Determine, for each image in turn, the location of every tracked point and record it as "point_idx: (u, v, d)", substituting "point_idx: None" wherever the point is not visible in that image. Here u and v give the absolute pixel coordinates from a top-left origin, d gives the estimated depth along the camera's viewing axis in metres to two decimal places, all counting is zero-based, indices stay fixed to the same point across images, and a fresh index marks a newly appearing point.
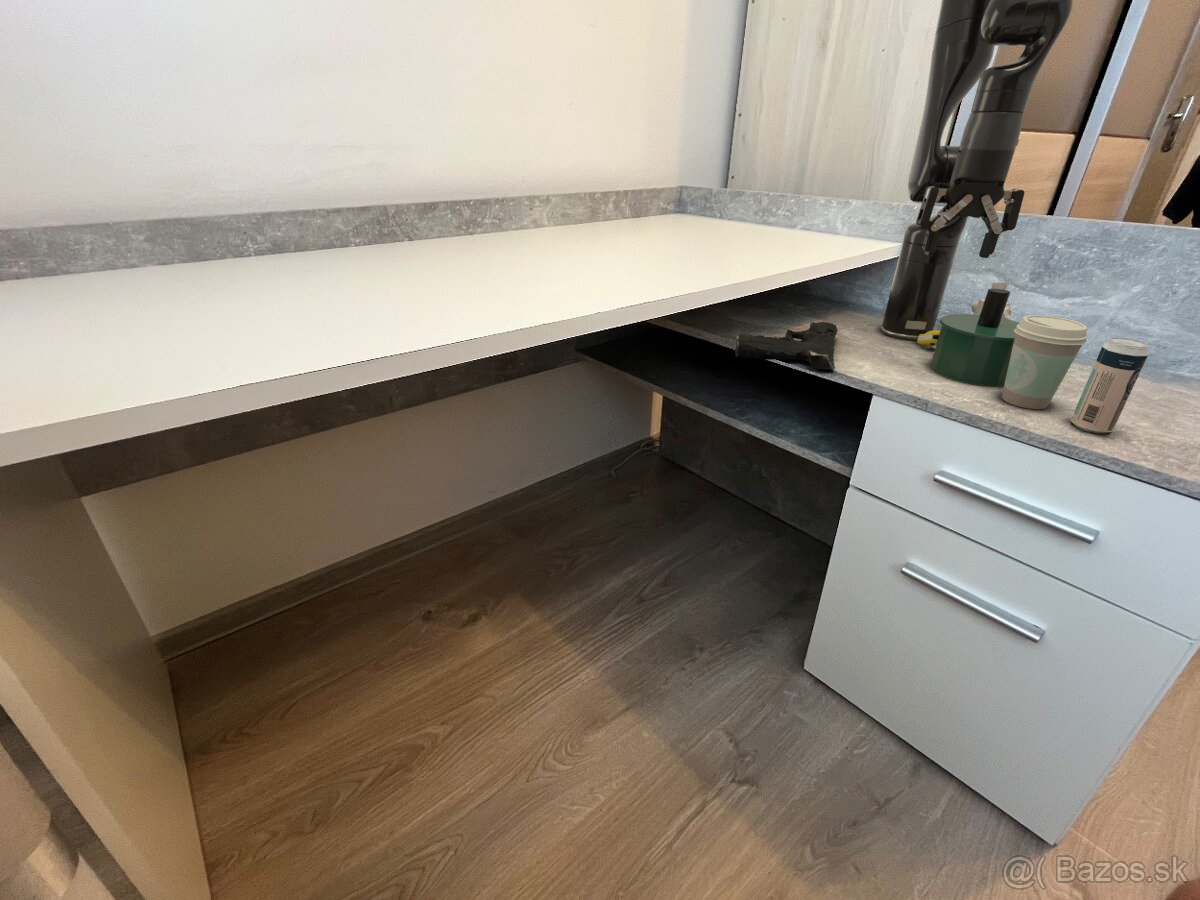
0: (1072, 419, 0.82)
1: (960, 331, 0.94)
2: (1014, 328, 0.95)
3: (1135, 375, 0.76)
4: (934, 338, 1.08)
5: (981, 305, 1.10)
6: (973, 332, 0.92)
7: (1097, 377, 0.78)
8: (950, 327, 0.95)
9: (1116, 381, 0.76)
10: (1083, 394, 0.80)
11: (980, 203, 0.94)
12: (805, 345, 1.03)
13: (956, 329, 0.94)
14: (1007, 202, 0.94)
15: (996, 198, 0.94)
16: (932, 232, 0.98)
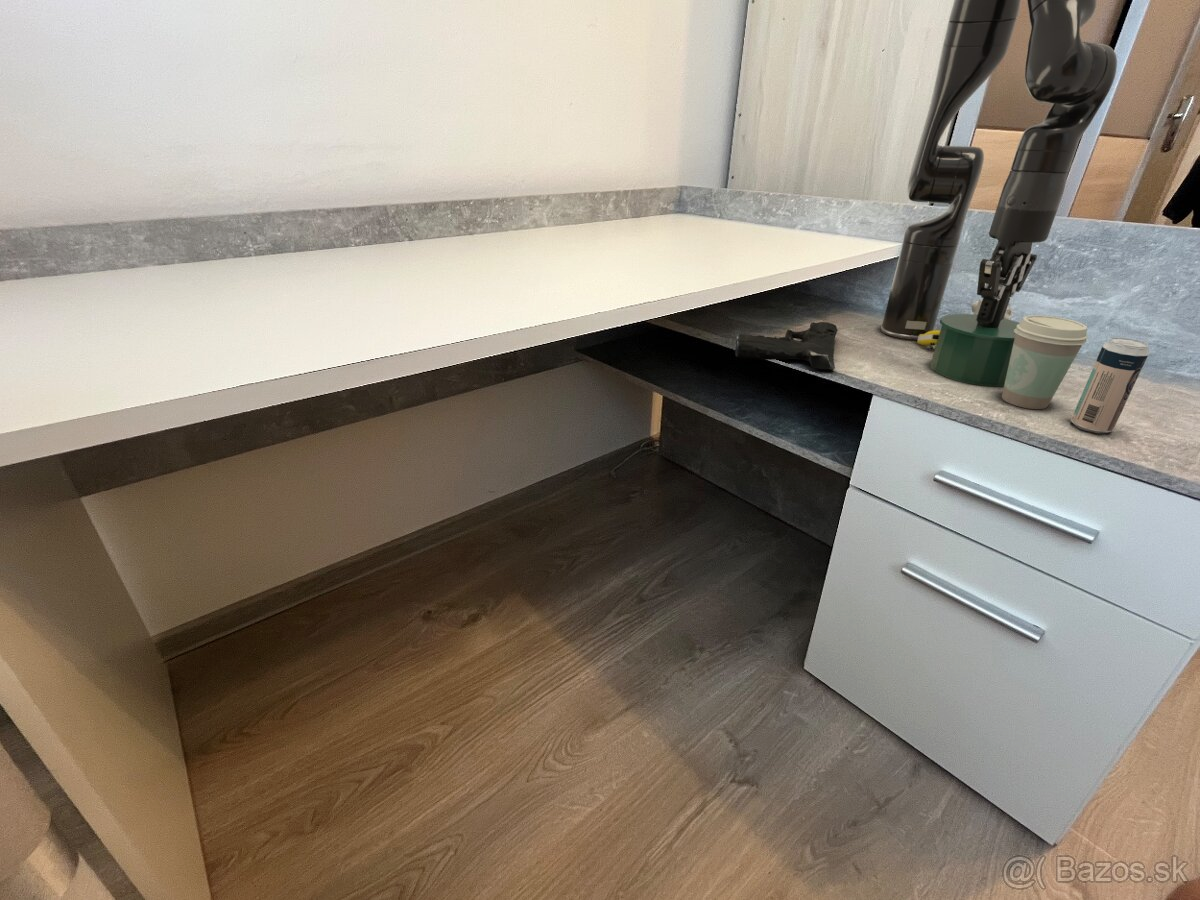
0: (1072, 419, 0.82)
1: (959, 331, 0.94)
2: (1014, 328, 0.95)
3: (1135, 375, 0.76)
4: (934, 338, 1.08)
5: None
6: (973, 332, 0.92)
7: (1097, 377, 0.78)
8: (950, 327, 0.95)
9: (1116, 381, 0.76)
10: (1083, 394, 0.80)
11: None
12: (805, 345, 1.03)
13: (956, 329, 0.94)
14: None
15: None
16: None
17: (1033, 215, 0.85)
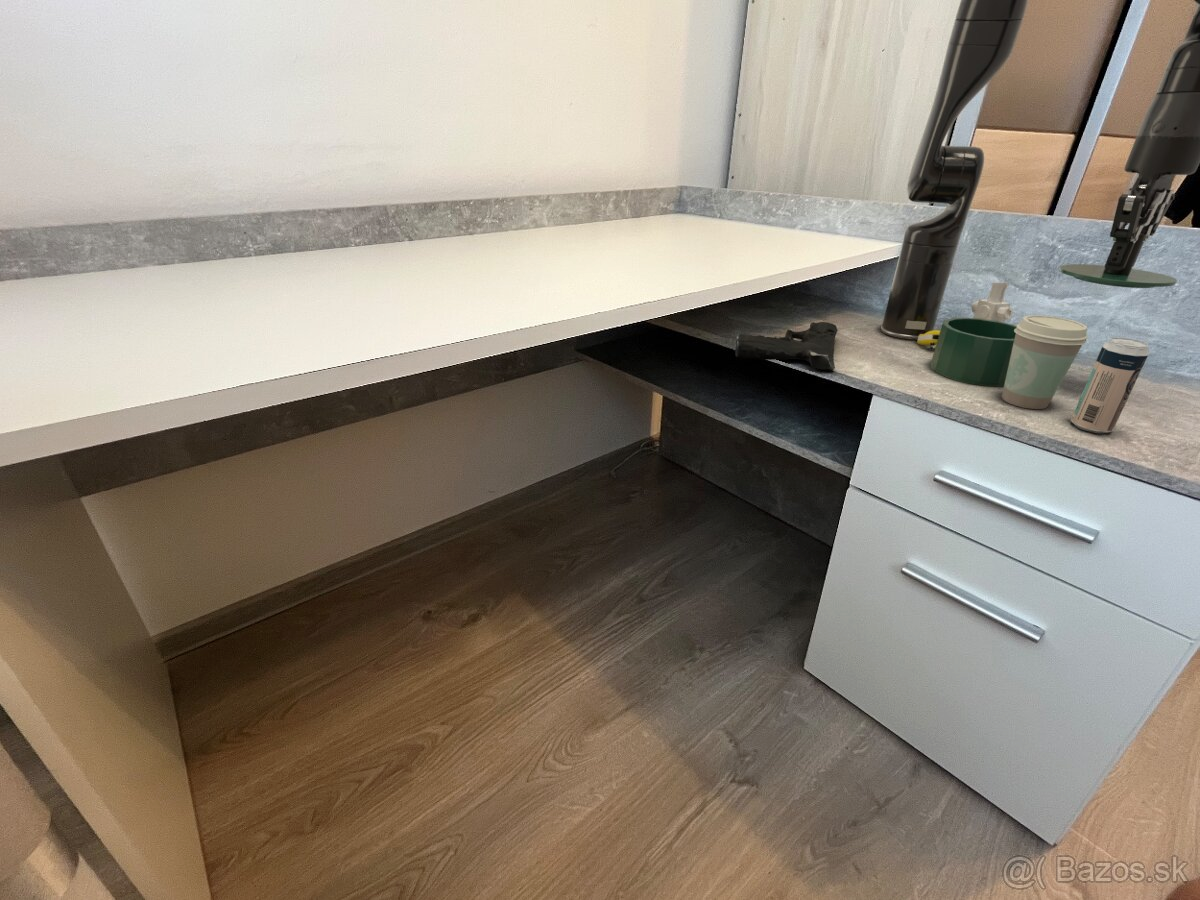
0: (1072, 419, 0.82)
1: (1088, 278, 0.85)
2: (1147, 275, 0.86)
3: (1135, 375, 0.76)
4: (934, 338, 1.08)
5: (981, 305, 1.10)
6: (1105, 278, 0.83)
7: (1097, 377, 0.78)
8: (1076, 274, 0.86)
9: (1116, 381, 0.76)
10: (1083, 394, 0.80)
11: None
12: (805, 345, 1.03)
13: (1084, 276, 0.85)
14: None
15: None
16: None
17: (1185, 142, 0.76)
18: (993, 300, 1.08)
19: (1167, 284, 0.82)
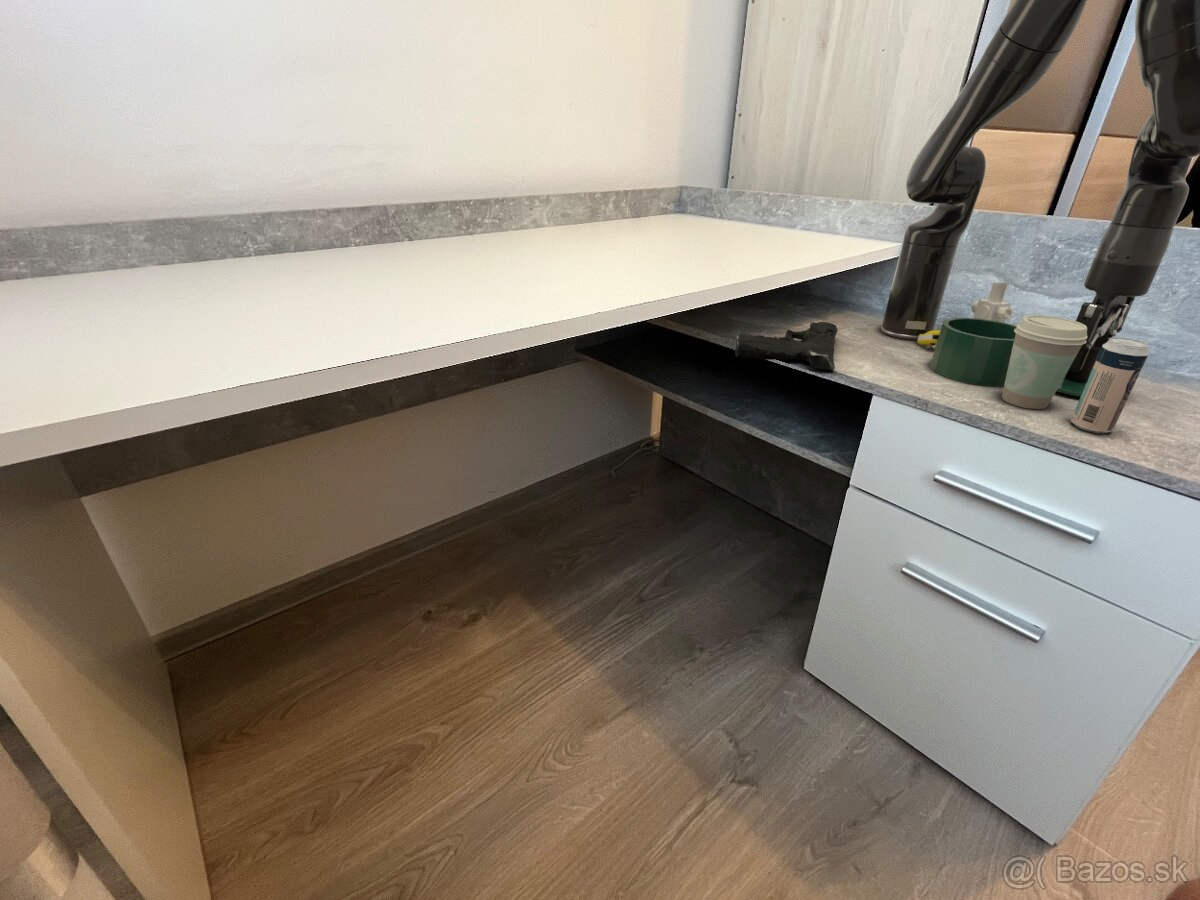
0: (1072, 419, 0.82)
1: None
2: None
3: (1135, 375, 0.76)
4: (934, 338, 1.08)
5: (981, 305, 1.10)
6: (1064, 389, 0.91)
7: (1097, 377, 0.78)
8: None
9: (1116, 381, 0.76)
10: (1083, 394, 0.80)
11: None
12: (805, 345, 1.03)
13: None
14: None
15: None
16: None
17: (1136, 270, 0.84)
18: (993, 300, 1.08)
19: None
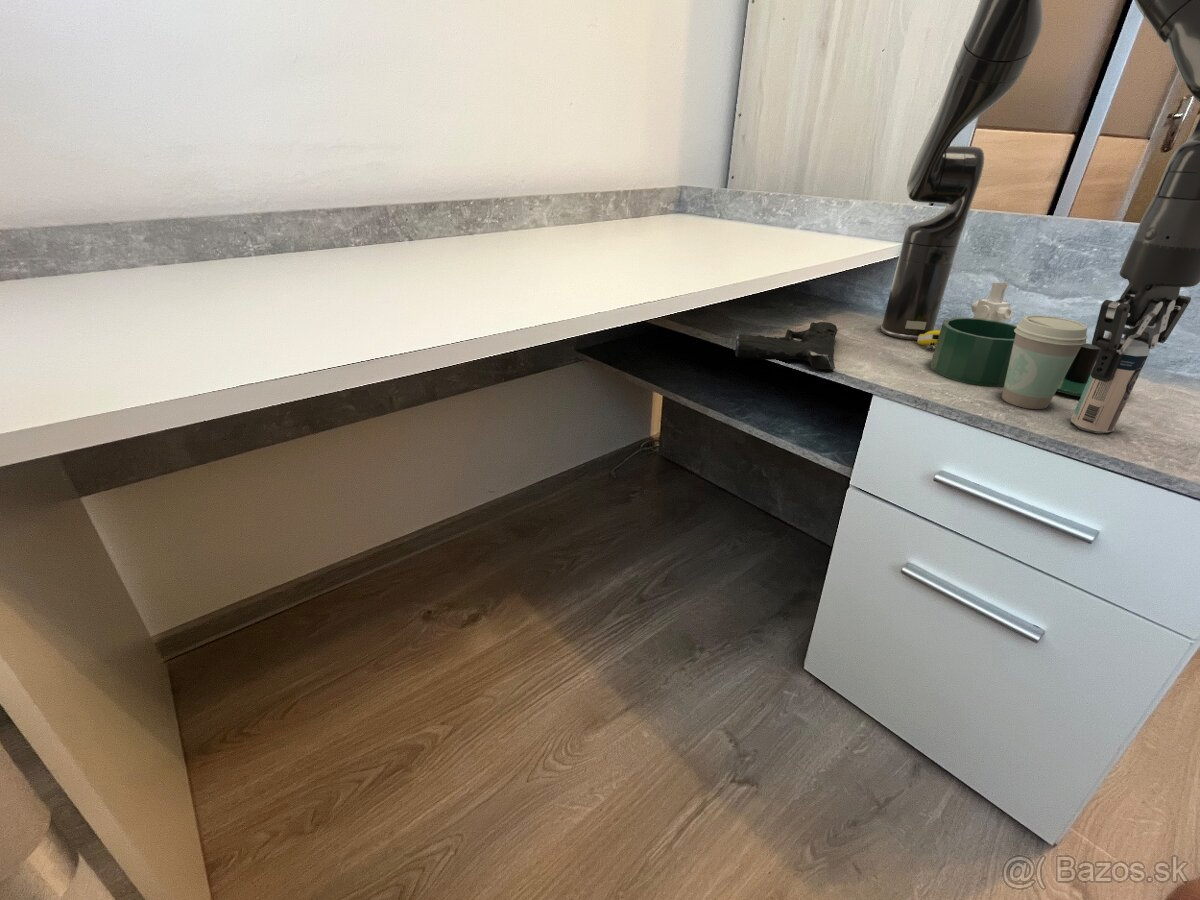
0: (1072, 419, 0.82)
1: None
2: None
3: (1135, 375, 0.76)
4: (934, 338, 1.08)
5: (981, 305, 1.10)
6: (1064, 389, 0.91)
7: None
8: None
9: (1116, 381, 0.76)
10: (1083, 394, 0.80)
11: None
12: (805, 345, 1.03)
13: None
14: None
15: None
16: None
17: (1179, 253, 0.68)
18: (993, 300, 1.08)
19: None
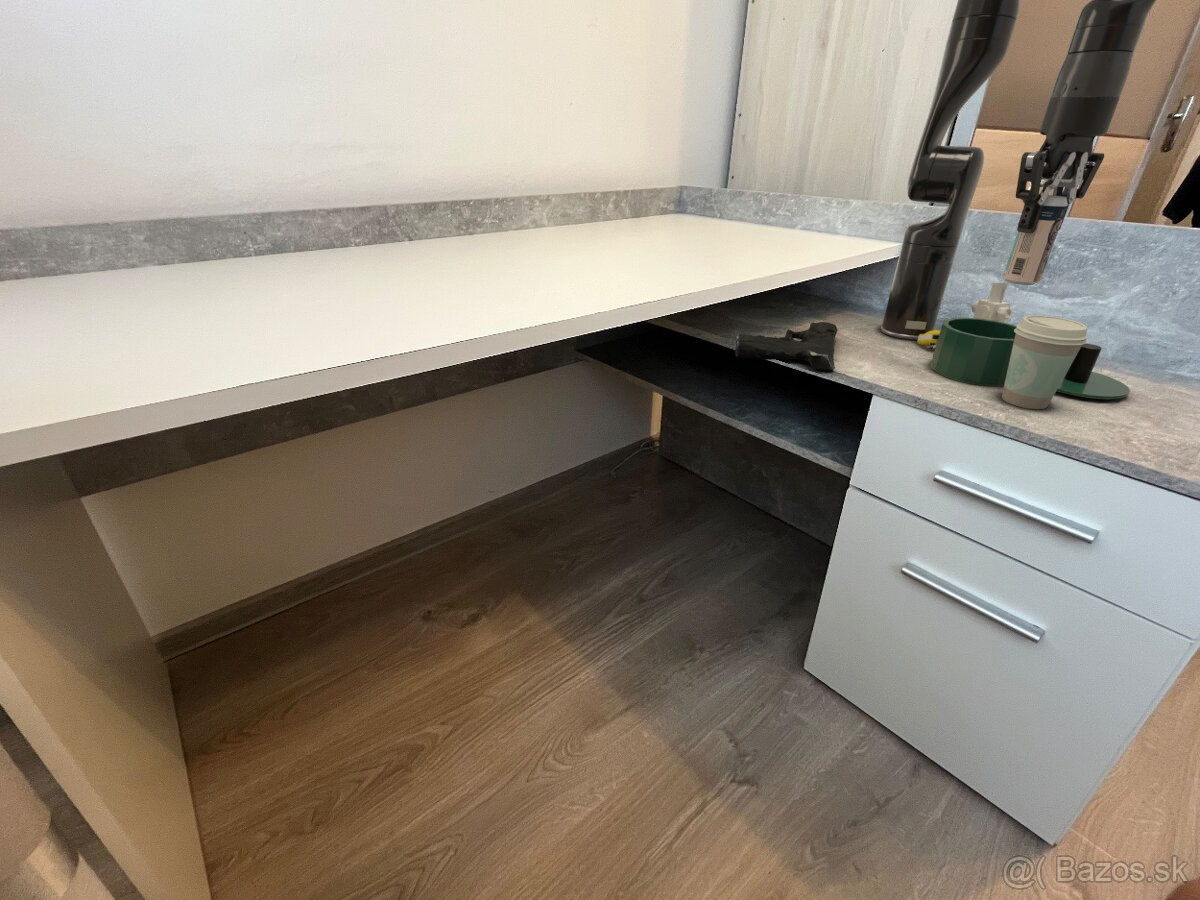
0: (1004, 276, 0.91)
1: None
2: (1104, 383, 0.93)
3: (1055, 225, 0.84)
4: (934, 338, 1.08)
5: (981, 305, 1.10)
6: (1064, 389, 0.91)
7: None
8: None
9: (1039, 232, 0.85)
10: (1012, 250, 0.89)
11: None
12: (805, 345, 1.03)
13: None
14: None
15: None
16: None
17: (1085, 102, 0.76)
18: (993, 300, 1.08)
19: (1120, 396, 0.89)
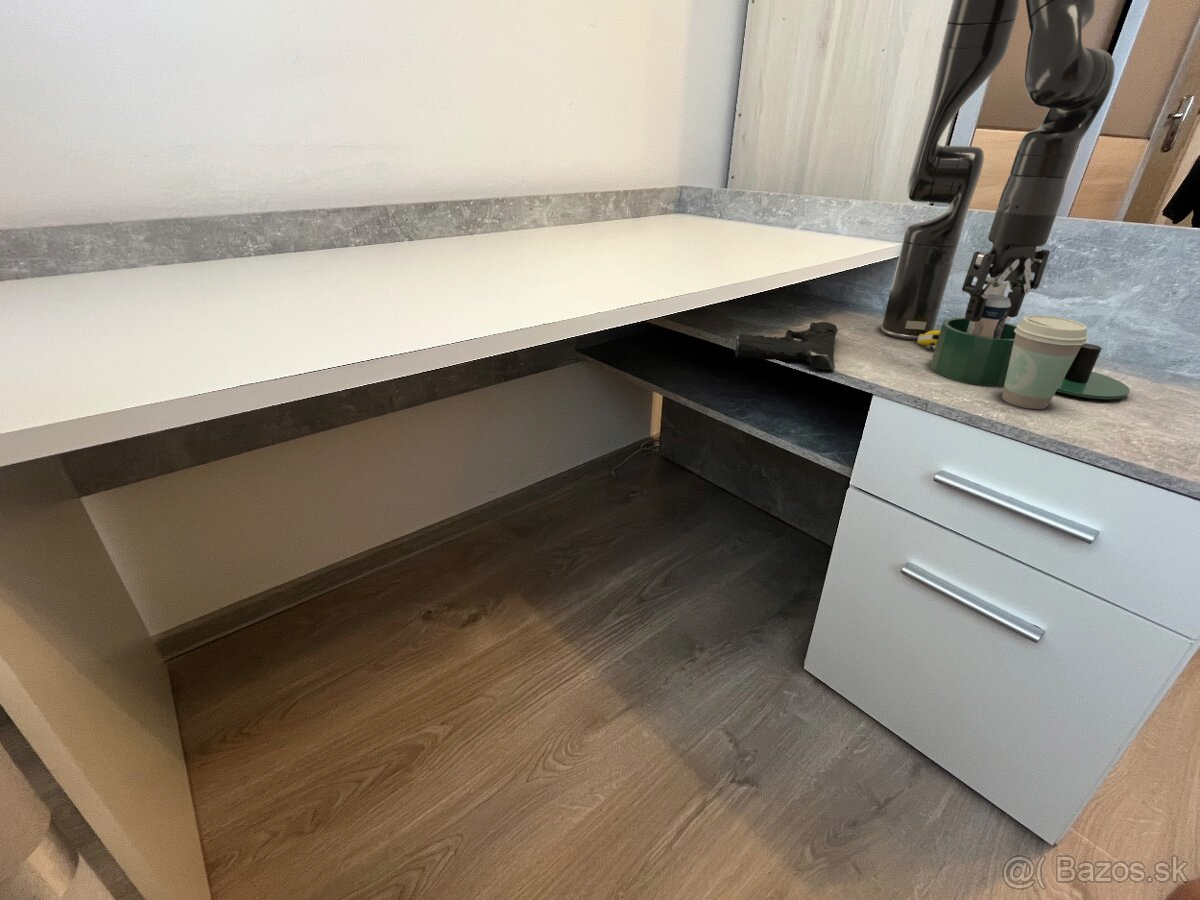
0: None
1: None
2: (1104, 383, 0.93)
3: (1000, 323, 0.94)
4: (934, 338, 1.08)
5: None
6: (1064, 389, 0.91)
7: (972, 326, 0.96)
8: None
9: (986, 329, 0.94)
10: None
11: None
12: (805, 345, 1.03)
13: None
14: None
15: None
16: None
17: (1025, 219, 0.86)
18: None
19: (1120, 396, 0.89)
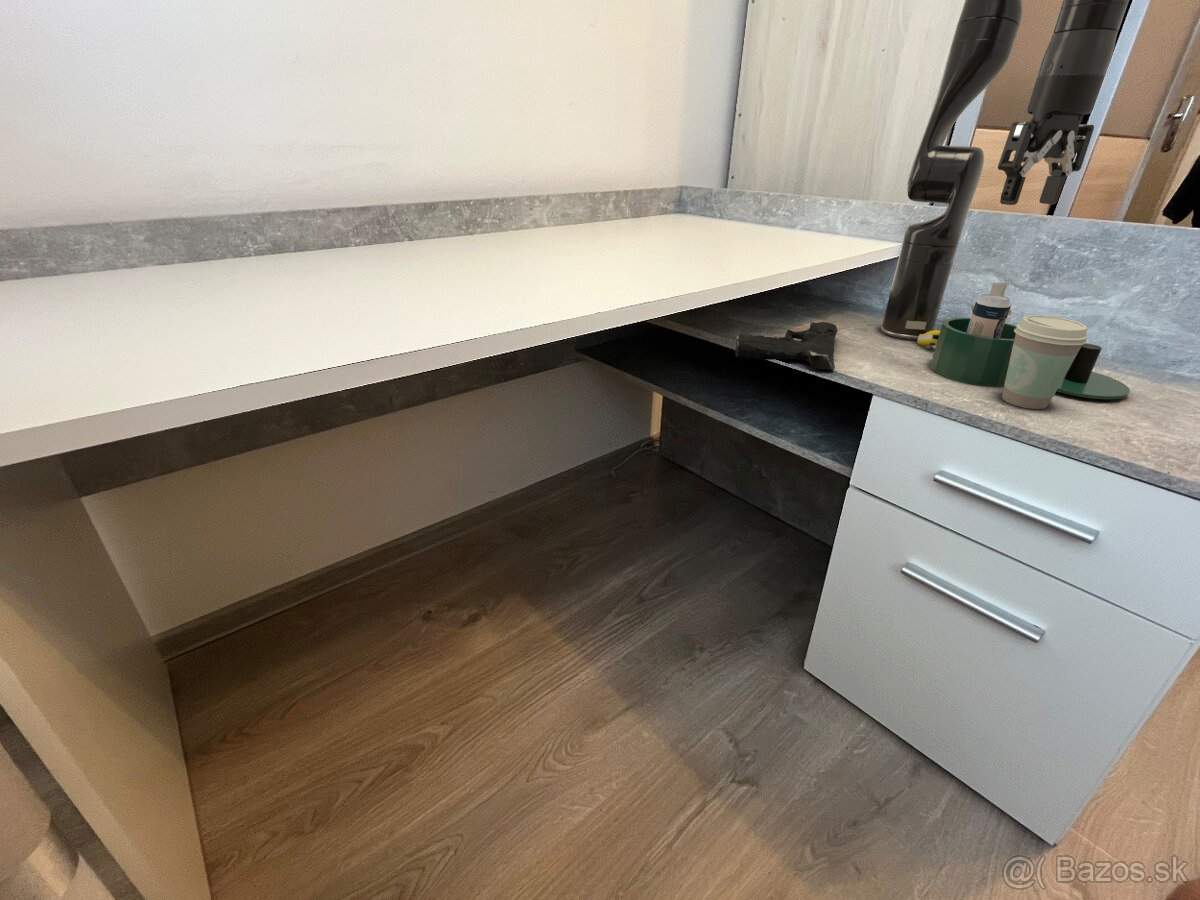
0: None
1: None
2: (1104, 383, 0.93)
3: (1000, 323, 0.94)
4: (934, 338, 1.08)
5: None
6: (1064, 389, 0.91)
7: (972, 326, 0.96)
8: None
9: (986, 329, 0.94)
10: None
11: None
12: (805, 345, 1.03)
13: None
14: None
15: None
16: None
17: (1071, 80, 0.78)
18: None
19: (1120, 396, 0.89)
